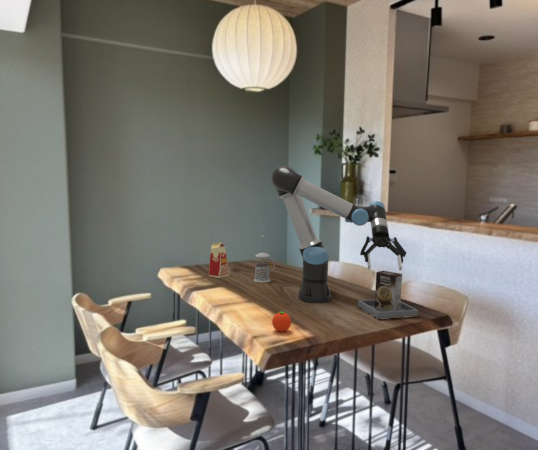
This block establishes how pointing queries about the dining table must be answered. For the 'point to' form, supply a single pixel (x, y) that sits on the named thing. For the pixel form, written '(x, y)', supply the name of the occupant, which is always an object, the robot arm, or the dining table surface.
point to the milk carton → (218, 261)
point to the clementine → (281, 321)
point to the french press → (260, 266)
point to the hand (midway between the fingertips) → (385, 268)
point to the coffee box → (388, 291)
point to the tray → (370, 308)
